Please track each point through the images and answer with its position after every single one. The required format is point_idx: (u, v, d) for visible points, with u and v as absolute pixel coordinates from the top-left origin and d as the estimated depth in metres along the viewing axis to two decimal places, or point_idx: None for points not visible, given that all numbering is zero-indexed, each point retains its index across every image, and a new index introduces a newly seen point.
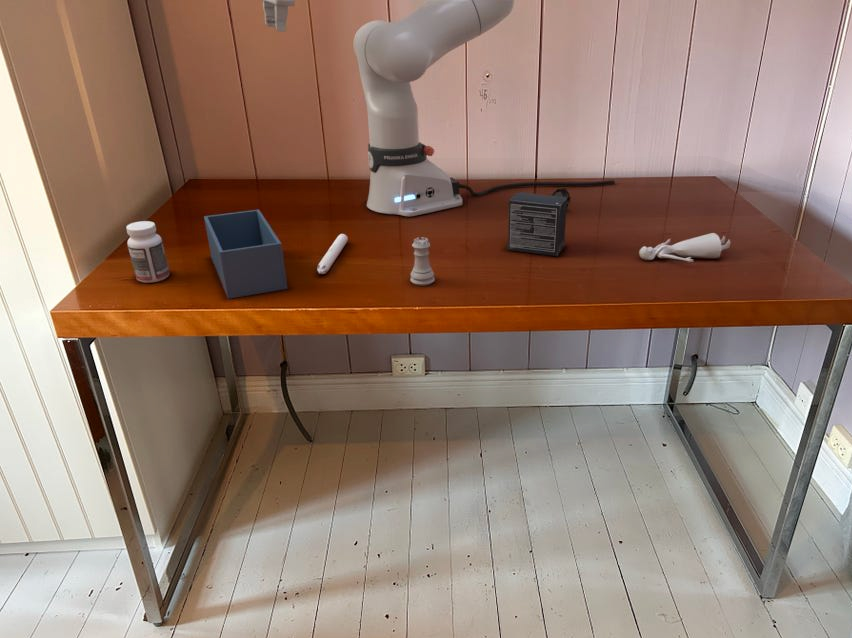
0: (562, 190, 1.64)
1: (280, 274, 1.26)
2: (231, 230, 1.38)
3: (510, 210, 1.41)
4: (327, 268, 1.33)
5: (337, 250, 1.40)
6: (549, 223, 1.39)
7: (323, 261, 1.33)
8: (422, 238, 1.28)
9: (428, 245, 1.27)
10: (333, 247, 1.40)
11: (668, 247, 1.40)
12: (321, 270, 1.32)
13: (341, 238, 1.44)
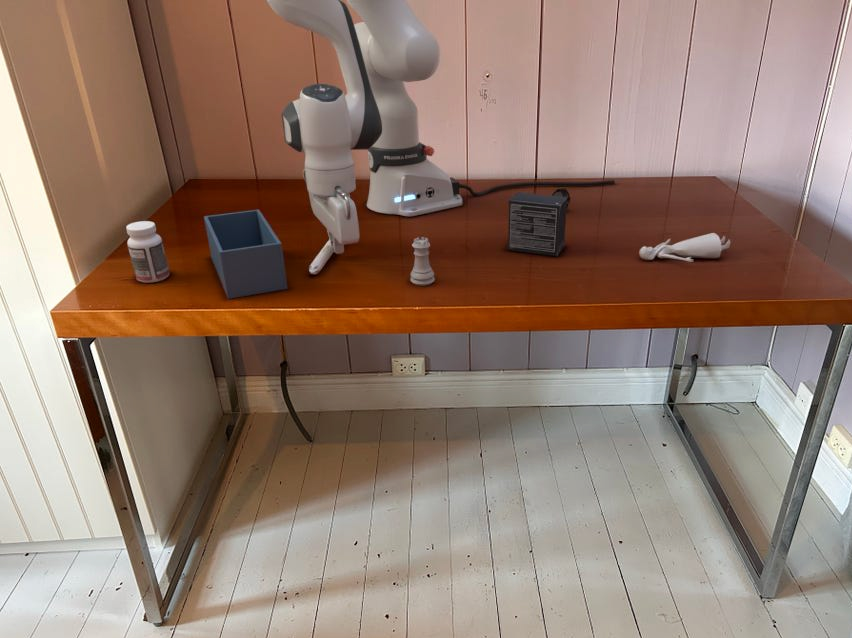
0: (562, 190, 1.64)
1: (280, 274, 1.26)
2: (231, 230, 1.38)
3: (510, 210, 1.41)
4: (319, 268, 1.33)
5: (329, 251, 1.40)
6: (549, 223, 1.39)
7: (315, 261, 1.33)
8: (422, 238, 1.28)
9: (428, 245, 1.27)
10: (326, 247, 1.40)
11: (668, 247, 1.40)
12: (313, 270, 1.32)
13: None
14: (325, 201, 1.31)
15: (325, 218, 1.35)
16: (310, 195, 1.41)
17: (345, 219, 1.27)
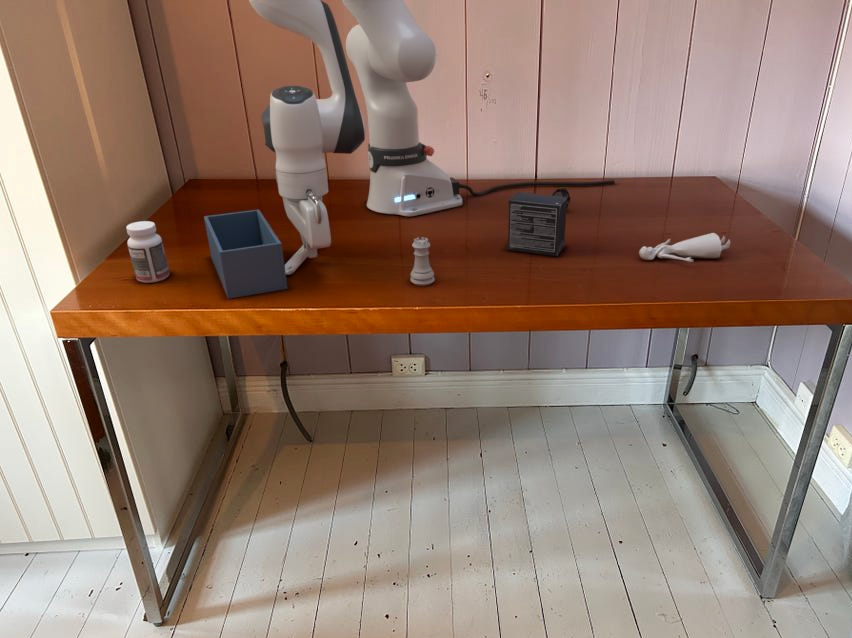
0: (562, 190, 1.64)
1: (280, 274, 1.26)
2: (231, 230, 1.38)
3: (510, 210, 1.41)
4: (293, 269, 1.33)
5: None
6: (549, 223, 1.39)
7: (289, 262, 1.33)
8: (422, 238, 1.28)
9: (428, 245, 1.27)
10: (302, 248, 1.39)
11: (668, 247, 1.40)
12: (286, 271, 1.32)
13: None
14: (297, 205, 1.29)
15: (297, 222, 1.33)
16: (283, 198, 1.39)
17: (316, 223, 1.25)
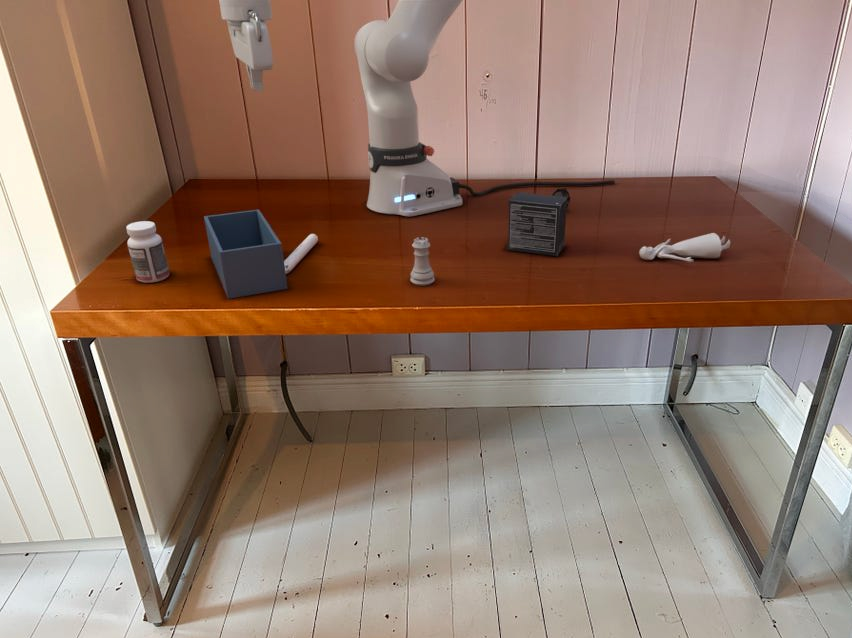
0: (562, 190, 1.64)
1: (280, 274, 1.26)
2: (231, 230, 1.38)
3: (510, 210, 1.41)
4: (289, 268, 1.33)
5: (303, 250, 1.39)
6: (549, 223, 1.39)
7: (286, 261, 1.33)
8: (422, 238, 1.28)
9: (428, 245, 1.27)
10: (300, 247, 1.39)
11: (668, 247, 1.40)
12: None
13: (310, 238, 1.44)
14: (239, 28, 1.28)
15: (242, 51, 1.31)
16: (230, 34, 1.37)
17: (256, 41, 1.23)
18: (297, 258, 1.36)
